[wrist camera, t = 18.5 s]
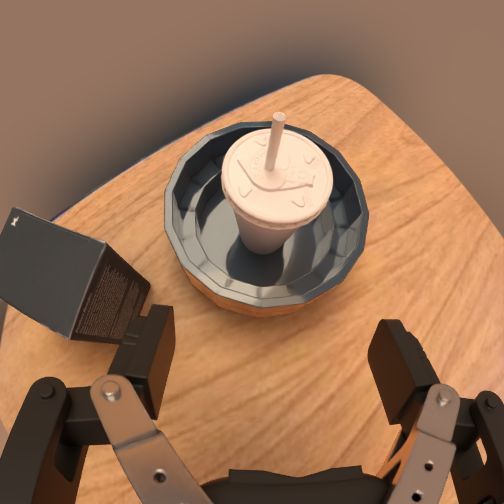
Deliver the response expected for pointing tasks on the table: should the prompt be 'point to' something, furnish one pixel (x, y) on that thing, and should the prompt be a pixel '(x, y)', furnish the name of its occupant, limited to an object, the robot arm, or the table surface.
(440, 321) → the table surface
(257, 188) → the smoothie
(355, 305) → the table surface
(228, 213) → the bowl
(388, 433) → the table surface
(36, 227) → the box
